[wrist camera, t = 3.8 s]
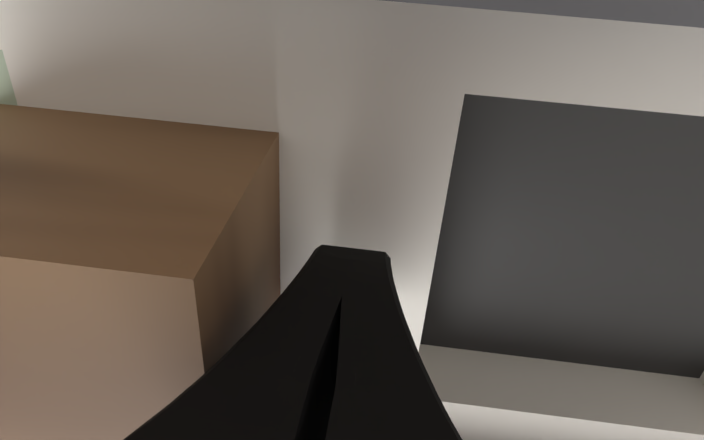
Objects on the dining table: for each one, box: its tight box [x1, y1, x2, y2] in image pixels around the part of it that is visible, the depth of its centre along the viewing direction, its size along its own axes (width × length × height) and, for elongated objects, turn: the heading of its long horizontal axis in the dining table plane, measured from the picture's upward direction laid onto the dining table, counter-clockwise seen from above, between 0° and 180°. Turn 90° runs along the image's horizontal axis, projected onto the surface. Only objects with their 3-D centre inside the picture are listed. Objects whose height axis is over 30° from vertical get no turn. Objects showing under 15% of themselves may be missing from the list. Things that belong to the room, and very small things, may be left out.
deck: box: [0, 0, 704, 440], centre depth 10 cm, size 14×24×4 cm, turn 87°
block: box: [0, 104, 280, 440], centre depth 9 cm, size 5×5×4 cm
